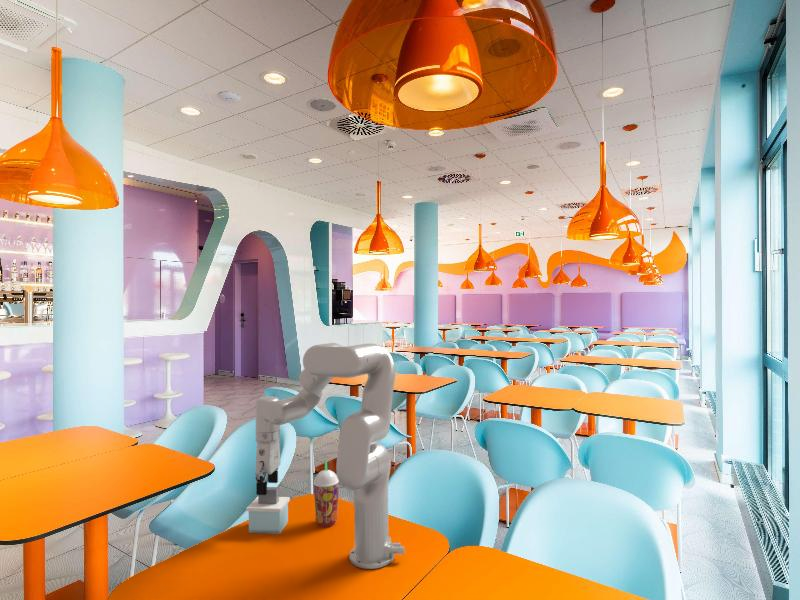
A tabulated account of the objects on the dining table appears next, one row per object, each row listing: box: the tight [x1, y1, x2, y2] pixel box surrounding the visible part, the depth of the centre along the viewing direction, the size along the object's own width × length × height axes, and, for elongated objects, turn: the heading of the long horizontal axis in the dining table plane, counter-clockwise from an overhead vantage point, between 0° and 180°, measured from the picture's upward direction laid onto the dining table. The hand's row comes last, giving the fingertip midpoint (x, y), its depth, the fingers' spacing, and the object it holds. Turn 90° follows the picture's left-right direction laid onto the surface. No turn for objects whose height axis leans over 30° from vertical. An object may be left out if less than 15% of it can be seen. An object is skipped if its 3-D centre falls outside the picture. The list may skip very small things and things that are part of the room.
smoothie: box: [312, 461, 340, 528], centre depth 155 cm, size 8×8×20 cm
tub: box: [248, 502, 289, 535], centre depth 152 cm, size 10×8×7 cm
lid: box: [245, 486, 291, 512], centre depth 152 cm, size 11×9×6 cm
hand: (267, 488), depth 152 cm, fingers open, 9 cm apart
